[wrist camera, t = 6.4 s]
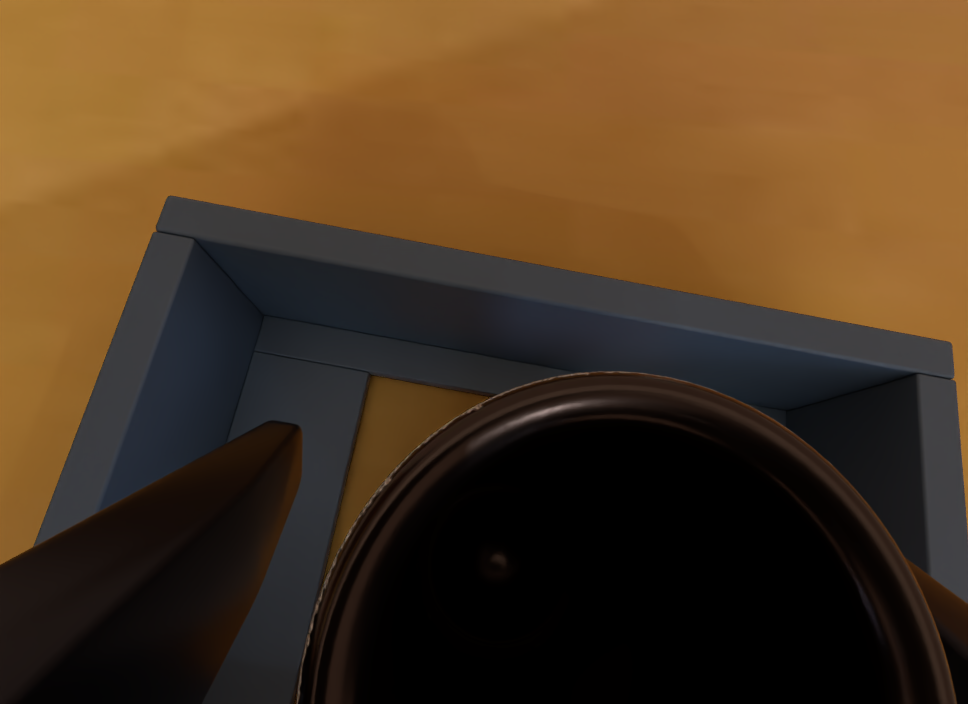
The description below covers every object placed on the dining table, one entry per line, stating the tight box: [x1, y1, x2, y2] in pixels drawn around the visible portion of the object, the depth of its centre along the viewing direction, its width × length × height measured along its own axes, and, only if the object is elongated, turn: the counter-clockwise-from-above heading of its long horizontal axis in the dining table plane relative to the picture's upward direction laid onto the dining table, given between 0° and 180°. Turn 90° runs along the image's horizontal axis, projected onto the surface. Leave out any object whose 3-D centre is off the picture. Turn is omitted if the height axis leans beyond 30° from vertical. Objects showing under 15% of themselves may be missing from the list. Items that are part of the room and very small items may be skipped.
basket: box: [33, 196, 968, 704], centre depth 11 cm, size 14×16×5 cm
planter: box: [296, 371, 957, 704], centre depth 9 cm, size 4×4×10 cm
